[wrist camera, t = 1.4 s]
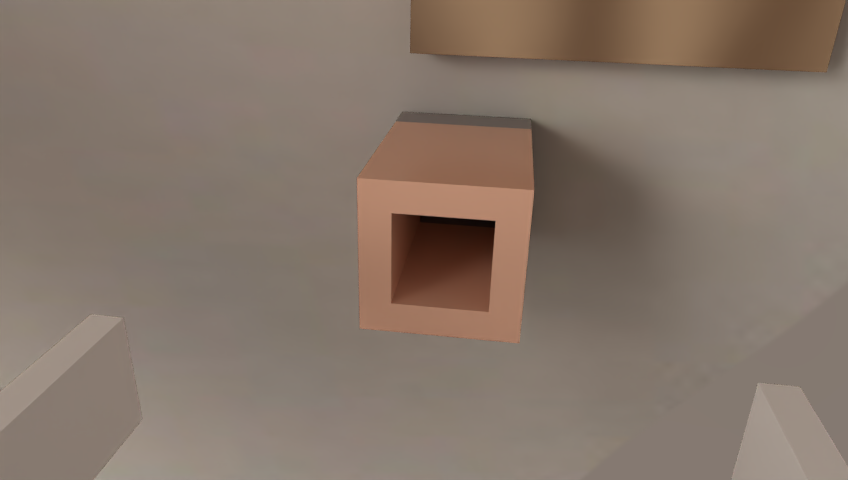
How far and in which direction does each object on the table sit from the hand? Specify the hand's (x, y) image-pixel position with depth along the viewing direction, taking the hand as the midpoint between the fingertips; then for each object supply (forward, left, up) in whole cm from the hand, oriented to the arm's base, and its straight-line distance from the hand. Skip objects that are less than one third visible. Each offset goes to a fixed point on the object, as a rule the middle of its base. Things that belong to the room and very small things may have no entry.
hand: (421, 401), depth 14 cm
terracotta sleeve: (0, 0, -14) cm, 14 cm away
